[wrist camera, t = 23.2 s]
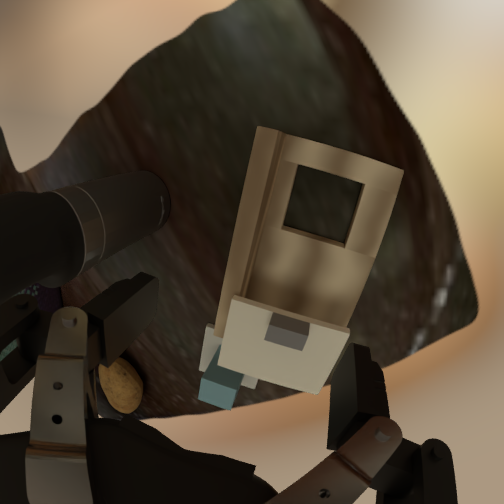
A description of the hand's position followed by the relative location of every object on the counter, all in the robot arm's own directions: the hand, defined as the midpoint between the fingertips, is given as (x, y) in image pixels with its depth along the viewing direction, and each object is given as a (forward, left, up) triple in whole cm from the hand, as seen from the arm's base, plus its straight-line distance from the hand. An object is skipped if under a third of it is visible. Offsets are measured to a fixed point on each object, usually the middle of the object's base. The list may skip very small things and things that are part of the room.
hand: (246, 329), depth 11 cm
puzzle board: (+3, -4, -26) cm, 27 cm away
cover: (+3, -14, -18) cm, 23 cm away
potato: (-23, -41, -27) cm, 54 cm away
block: (-3, -26, -26) cm, 37 cm away
